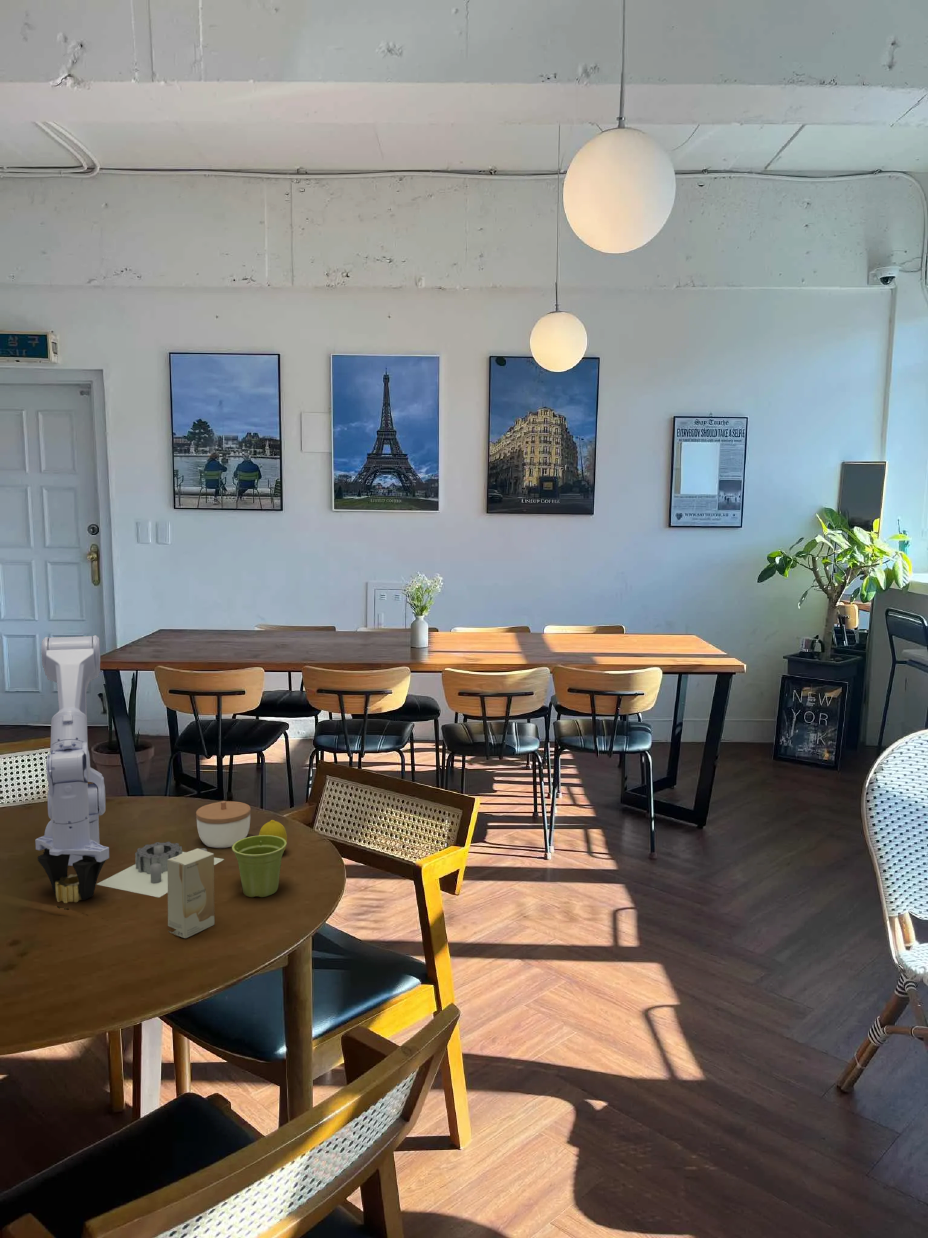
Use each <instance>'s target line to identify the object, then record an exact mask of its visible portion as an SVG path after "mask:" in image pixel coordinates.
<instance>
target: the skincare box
mask: <svg viewBox="0 0 928 1238" xmlns="http://www.w3.org/2000/svg"><path fill="white" fill-rule="evenodd" d="M185 852H186V853H183V854H180V855H178V856H176V857H173V858H170V859H168V860H167V865H168V893H167V927H169V928H171V929H174V931H171V930H167V932H168V933H171V934H173V935H175V936H177V937H181V938H182V939H187V938H189V937H192V936H194V935H196V934H198V933H200V932H202V931H205V930H206V929H208V928H210V927H212V926H215V865H214V857H215V853H214V852H211V851H208V850H207V851H204V850H201V848H194V849H192V850H189V851H185Z"/></svg>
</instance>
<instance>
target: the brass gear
mask: <svg viewBox="0 0 928 1238" xmlns="http://www.w3.org/2000/svg"><path fill="white" fill-rule="evenodd" d="M55 886H56V894H55V899H56V901H57V902H58V903H59V902H63V904H68V903H73V902H74V903H77V902H79V901H81V900H82V899H81V896H80V889H79V881H78V877H77V874H73V873H72V874H69V875H67V876H66V877H61V878H60V880H59V881H56V882H55ZM56 907H57V908H58V909H61V908H63V910H65V911H66V910H67V911H68V910H69V907H64V906H59V905H57V906H56Z"/></svg>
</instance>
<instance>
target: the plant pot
mask: <svg viewBox="0 0 928 1238" xmlns="http://www.w3.org/2000/svg"><path fill="white" fill-rule="evenodd" d="M285 847H287V845H286V840H284V839H283V838H281V837H278V836H273V835H259V834H258V835H253V836H248V837H247V836H246V838H244V839H241V840H239V841H237V842H236V843H234V844H233V846H232V847H231V850H232V852H233V853H234V855H235V858H236V860H237V864H238V869H239V876H240V881H241V887H242V893H243V894H244V896H247V897H249V898H254V897H259V898H266V897H269V896H271V895H273V894H275V893H276V892H277V891H278V889H279V883H280V873H281V865H282V858H283V854H284V851H285V850H284V848H285ZM285 849H286V848H285Z"/></svg>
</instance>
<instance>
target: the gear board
mask: <svg viewBox="0 0 928 1238" xmlns="http://www.w3.org/2000/svg"><path fill="white" fill-rule="evenodd" d="M200 849H201V850H204V851H207V852H208V849H207V848H206V847H205V848H203V847H202V848H200ZM186 852H187V851H182V854H183V853H186ZM163 853H164V846H163V845H157V846H154V854H163ZM223 861H225V859H224V858H219V857H215V856H214V866H216V865H217V864H219V863H221V862H223ZM150 871H151V874H147V873H146V872H142V873H140V872H138V869H136V863H135V864H133V865H130V866H129V867H127V868H125V869H123V870H121V871H119V872H117V873H115V874H113V875H112V876H110V877H107V878H105V879H103V880H102V881H100V882H98V883H96V886H101V887H107V888H110V889H114V890H115V889H116V890H121V891H125V892H131V893H135V894H140V895H144V896H151V897H155V898H161V897H163V896H165V895H166V894H168V871H166V872H163V873H161V864H159V863H156V864H152V865H151V866H150Z"/></svg>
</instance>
